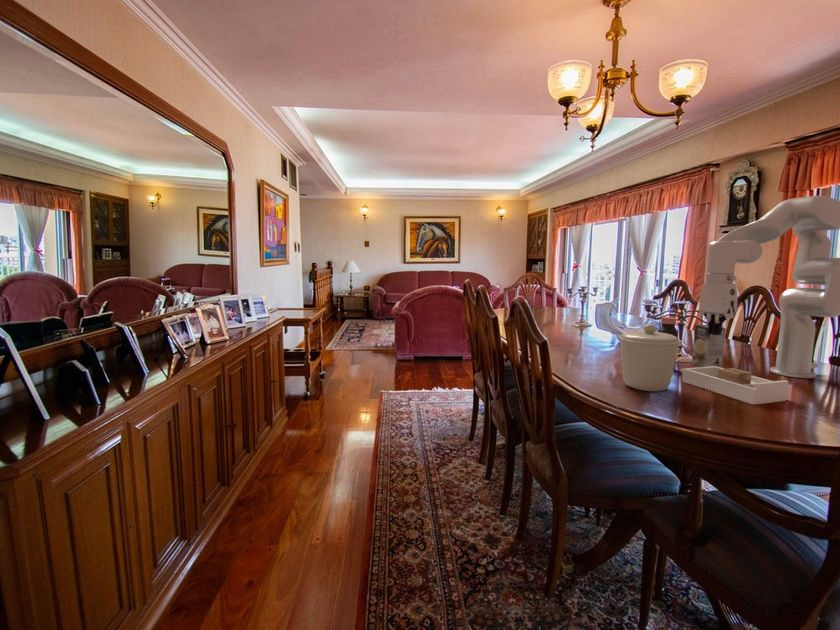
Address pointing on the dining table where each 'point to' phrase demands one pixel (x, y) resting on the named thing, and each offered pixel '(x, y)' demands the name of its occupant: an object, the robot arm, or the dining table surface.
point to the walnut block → (735, 375)
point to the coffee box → (707, 347)
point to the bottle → (669, 327)
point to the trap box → (738, 386)
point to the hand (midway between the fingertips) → (714, 333)
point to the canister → (648, 358)
